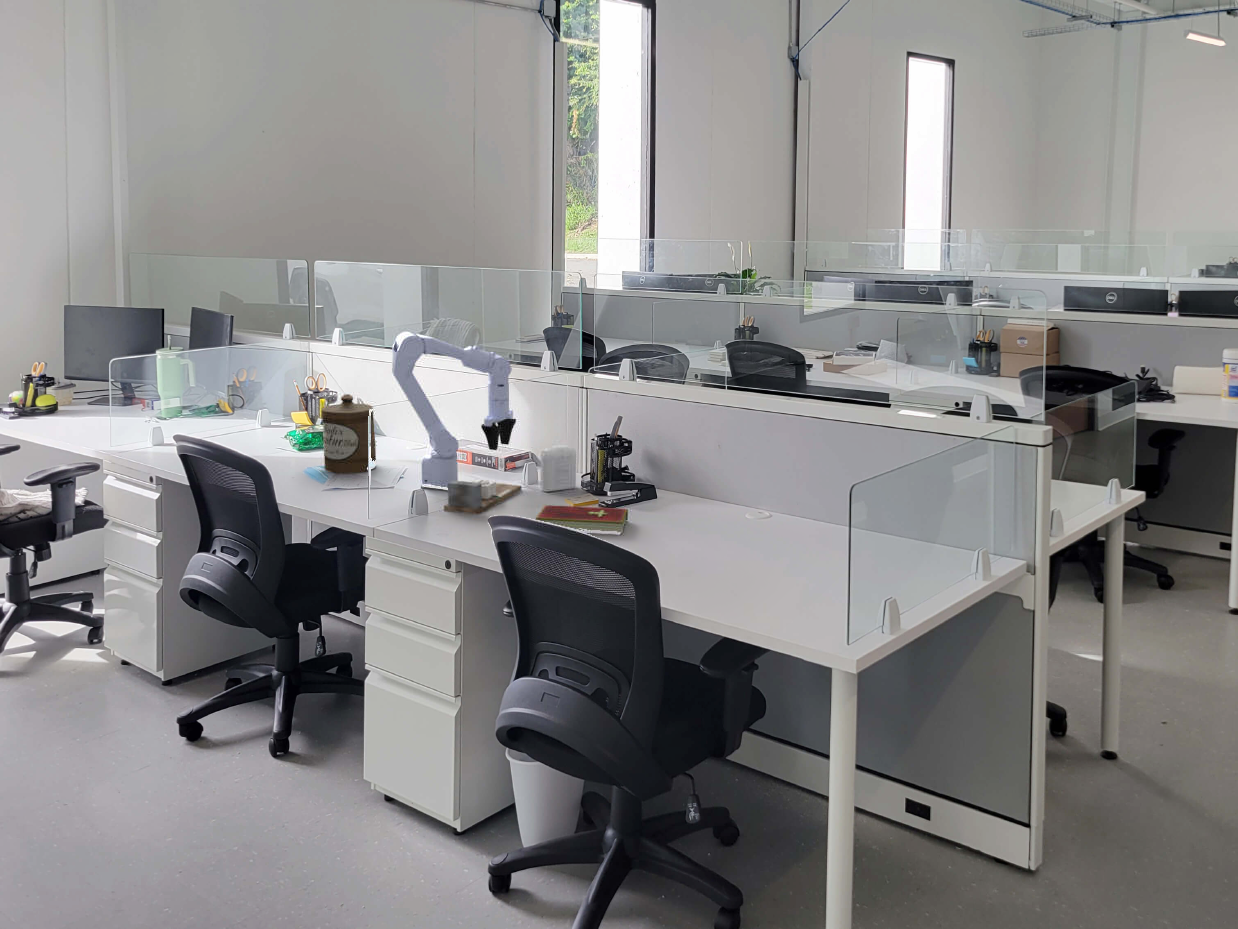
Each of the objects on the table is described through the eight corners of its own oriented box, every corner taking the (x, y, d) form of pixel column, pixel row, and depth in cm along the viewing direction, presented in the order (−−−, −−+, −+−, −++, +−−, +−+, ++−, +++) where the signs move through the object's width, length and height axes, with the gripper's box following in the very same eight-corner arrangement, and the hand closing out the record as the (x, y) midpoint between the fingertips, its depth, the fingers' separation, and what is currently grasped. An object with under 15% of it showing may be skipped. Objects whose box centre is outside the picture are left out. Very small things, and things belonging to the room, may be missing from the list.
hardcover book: (544, 519, 272) (544, 503, 271) (627, 523, 270) (627, 507, 269) (535, 533, 260) (535, 516, 259) (622, 537, 258) (622, 521, 257)
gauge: (461, 499, 282) (461, 484, 281) (475, 492, 289) (475, 477, 288) (488, 502, 279) (488, 487, 278) (502, 495, 286) (501, 480, 285)
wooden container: (314, 469, 317) (310, 395, 312) (349, 459, 329) (346, 388, 324) (352, 476, 310) (348, 400, 305) (386, 466, 322) (384, 393, 317)
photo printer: (570, 485, 304) (570, 442, 301) (578, 488, 301) (578, 445, 298) (538, 489, 298) (538, 446, 296) (546, 493, 295) (546, 449, 292)
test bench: (443, 510, 277) (443, 483, 275) (488, 486, 301) (488, 461, 299) (479, 514, 274) (478, 487, 272) (521, 490, 298) (521, 464, 296)
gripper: (500, 404, 292) (501, 453, 295) (522, 396, 305) (522, 442, 308) (477, 402, 294) (477, 451, 297) (499, 394, 307) (500, 440, 310)
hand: (499, 446), depth 303 cm, fingers open, 7 cm apart
